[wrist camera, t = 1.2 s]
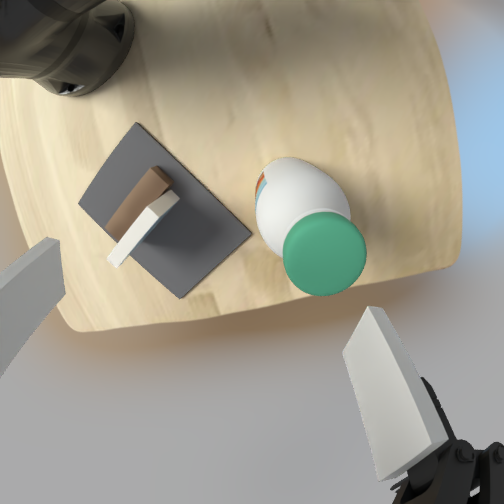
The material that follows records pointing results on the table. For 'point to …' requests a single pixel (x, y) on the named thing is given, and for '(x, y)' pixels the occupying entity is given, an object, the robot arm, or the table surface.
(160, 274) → the mat
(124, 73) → the table surface
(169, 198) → the tile
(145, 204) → the block
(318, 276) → the milk bottle
